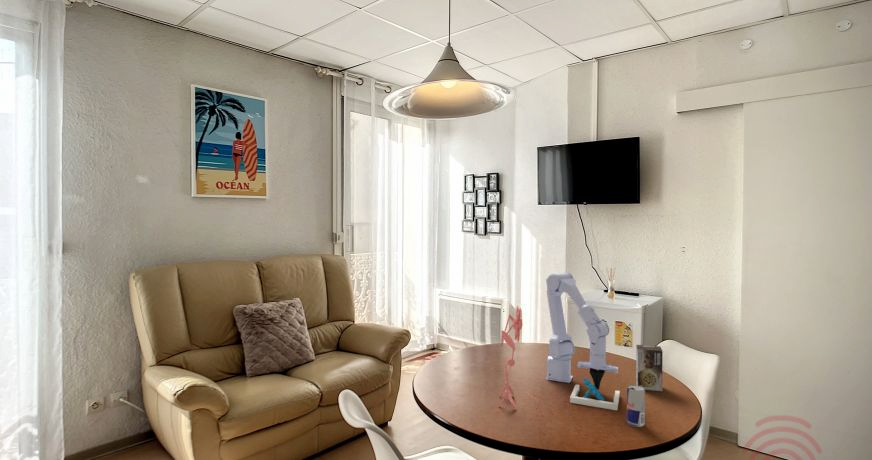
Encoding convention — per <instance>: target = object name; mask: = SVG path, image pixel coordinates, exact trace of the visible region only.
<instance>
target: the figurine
mask: <svg viewBox="0 0 872 460" xmlns="http://www.w3.org/2000/svg"><path fill="white" fill-rule="evenodd" d="M521 316H522V308H519V306H518V305H517V306H516V310H515V318H514V317H513V316H512V315H511V314H509V315H508V318H507V321H506V325H505V329H504V330H501V331H500V332H501V338H500V347H503V344H504V342H505V343H506V344H507V345H508V346H509V347H510V348H511V349H512V352H511V358H508V359H507V361H506V362H507V363H505V364H504V369H505V371H504V372H505V377H506V381H504V384H505V385H504V387H503V388H502V391H501V392H500V394H499V395H498V396H499V398H501V397H502V395H503V394H504V393H505V394H504V396H503V398H502V399H501V401H500V402H499V405H498V407H499V408H500V407H502V405H503V402H504V401H505V398H507V400H508V401H509V403H510V405H511V406H512V407H513V408H514V410H517V406H516V404H515V403H516V402H515V401H514V399H513V396H514V390H513V389H512V387H511V385H510V383H509V373H510V371H511V369H512V367H513V366H514V365H515V363H516V361H515V360H514V352H515V351H516V346H515V342H514V340H515V341H516V342H517V343H520V335H521V334H520V333H521V332H520V331H521V330H522V327H523V320H522V319H521ZM510 320H511V322H512V325H511V326H510V327H509V329H508V330H507V328H508V325H509V322H510ZM512 329H514V340H513V338H512V337H511V336H510V335H509V333H510V331H511V330H512ZM507 365H508V366H509V369H508V370H507ZM524 394H526V395H529V396H531V397H532V398H533V399H535V396H532V395H530V394H529V393H527V392H524ZM536 402H537V403H539V401H538V400H536ZM537 409H538V407H536V408H535V410H537ZM495 413H497V414H499V412H498V411H496V412H495Z"/></svg>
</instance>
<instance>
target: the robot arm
mask: <svg viewBox="0 0 872 460" xmlns="http://www.w3.org/2000/svg"><path fill="white" fill-rule="evenodd" d="M545 282H546V287H547V288H546V296H547V303H548V310H549V315H550V322H551V330H552V336H551V337H550V339H549V340H548V342H549V345H548V346H549V347H548V352H549V355H548V357H547V359H546V360H547V361H546V381H547V380H548V381H554V382H555V381H556V382H560V383H568V384H570V383H571V382H572V379H573V377H574V376H573V375H571V373H572V372H571V371H572V370H571V368H572V367H571V366H572V365H571V363H572V362H571V361H572V360H571V359H572V357H573V355H574V354H575V351H576V347H575V344H574V342H573V340H572V336H570V335H569V334H568V333H567V328H566V320H565V316H564V315H565V314H564V307H563V302H562V295H563V294H564V293H566V294H567V295H568V296H569V297H570V299H571V300H572V301H573V303H574V304H575V305H576V307H577V308H578V315H579V317H580V318H581V319H582V321H583V322H584V324H585V326H586V327H587V329H586V333H587V336H588V340H589V361H578V362H577V368H578V369H581V368H582V369H587V370H588V369H589V374H590V376H591V378H592V381H593V384H594V386H595V387H596V389H597V390H598V391H599V390H600V388H601V386H600V385H601V381H602V379H603V377H604V375H605V373H607V372H609V373H614V374H618V373H619V367H618V366H614V365H611V364H610V365H609V364H606V357H607V356H606V355H607V354H606V353H607V346H606V345H607V336H608V335H609V334H610V327H609V325H608V322H606V321H604V320H602V319H601V318H600V317H599V315H598V314H597V312H596V311H595V308H594V307H593V306H592V305H591V304H587V303H586V300H585V299H584V298H583V296H582V294H581V292H580V290H579V289H578V286H577V285H576V284H577V283H576V279H575V278H574V276H573V274H572V273H570V272H568V271H567V272H560V273H550V274H549V275H548V276H547V278H546V279H545Z"/></svg>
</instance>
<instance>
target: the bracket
mask: <svg viewBox="0 0 872 460" xmlns="http://www.w3.org/2000/svg"><path fill="white" fill-rule="evenodd" d="M580 387H581V386H580V384H578V383H577V384H575V385H574V387H573V390H572V392H571V394H570V396H569V402H570V403H571V404H576V405H577V404H578V405H584V406H588V407H593V408H598V409H599V408H600V409H607V410H612V411H618V408H619V401H620V395H621V394H620V392H621V391H620V390H615V391H614V396H613V401H605V400H604V401H600V399H593V398H589V397H587V398H583V396H582V397H580V396H578V395H579V393H580Z"/></svg>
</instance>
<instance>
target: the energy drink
mask: <svg viewBox="0 0 872 460" xmlns="http://www.w3.org/2000/svg"><path fill="white" fill-rule="evenodd" d="M645 410H646V390H644V388H643V387H641V386H638V385H636V384H630V385H627V389H626V423H627V424H628V426H630V427H634V428H643V427H644V426H645V417H646V415H645V412H646V411H645Z"/></svg>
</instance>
